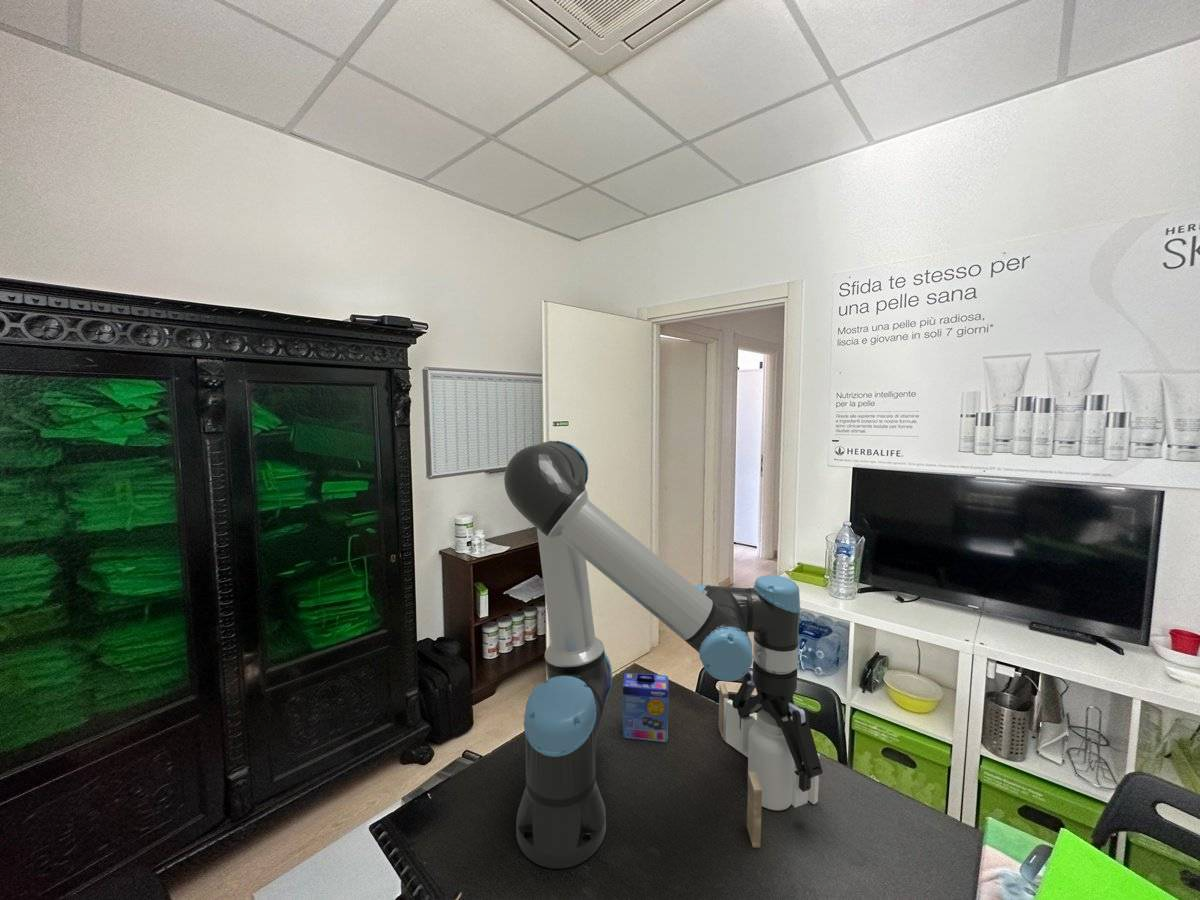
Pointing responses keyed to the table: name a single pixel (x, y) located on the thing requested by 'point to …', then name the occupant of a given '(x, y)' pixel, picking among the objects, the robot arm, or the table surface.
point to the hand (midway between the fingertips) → (771, 774)
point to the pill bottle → (771, 761)
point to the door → (733, 738)
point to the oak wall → (753, 785)
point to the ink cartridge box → (645, 707)
